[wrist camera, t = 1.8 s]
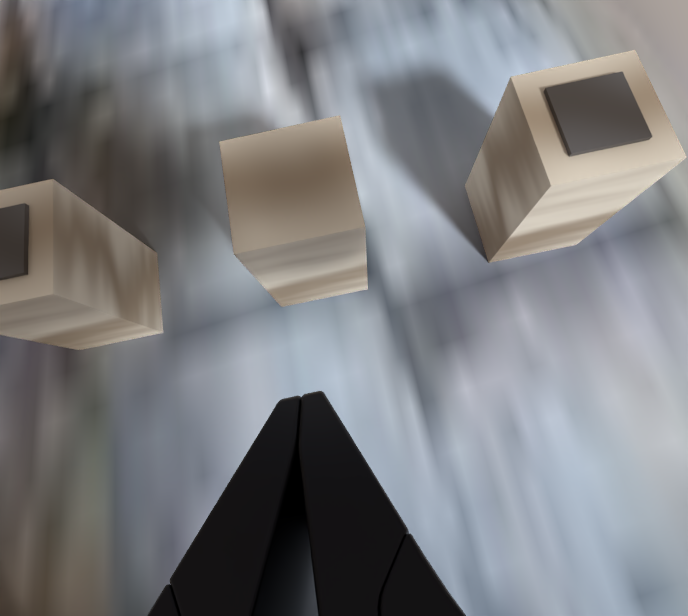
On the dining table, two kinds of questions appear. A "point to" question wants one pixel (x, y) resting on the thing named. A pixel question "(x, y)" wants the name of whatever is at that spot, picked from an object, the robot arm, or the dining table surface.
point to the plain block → (296, 211)
